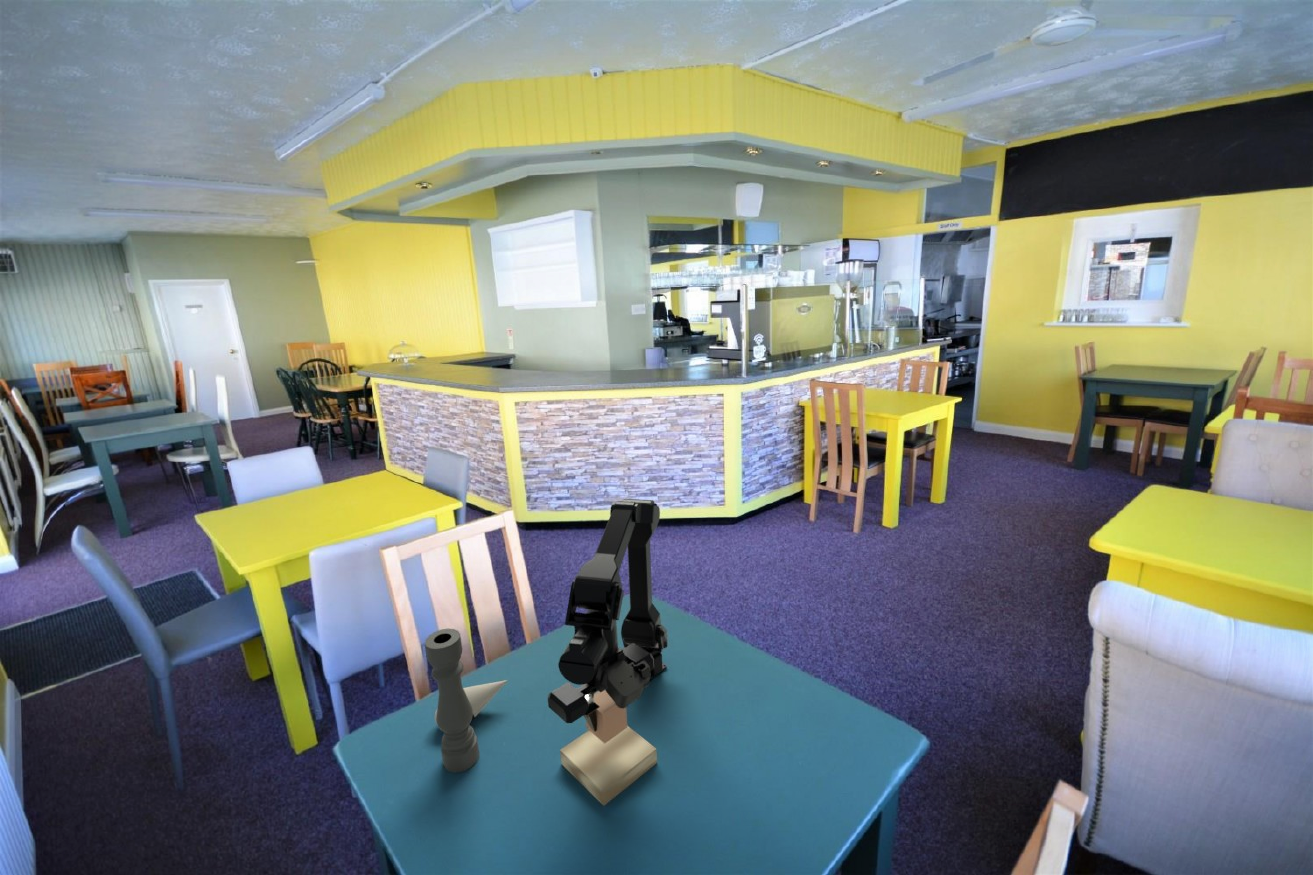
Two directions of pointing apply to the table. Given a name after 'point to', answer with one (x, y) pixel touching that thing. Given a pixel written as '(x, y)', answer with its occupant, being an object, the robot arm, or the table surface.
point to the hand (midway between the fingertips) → (606, 721)
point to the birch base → (608, 762)
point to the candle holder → (452, 701)
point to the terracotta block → (608, 717)
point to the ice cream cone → (481, 695)
